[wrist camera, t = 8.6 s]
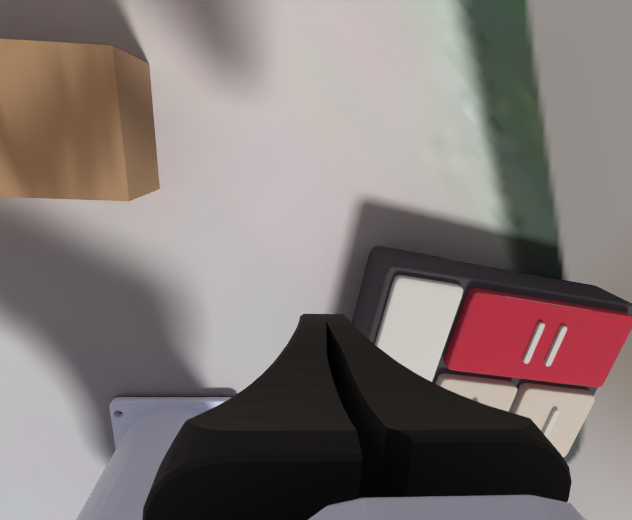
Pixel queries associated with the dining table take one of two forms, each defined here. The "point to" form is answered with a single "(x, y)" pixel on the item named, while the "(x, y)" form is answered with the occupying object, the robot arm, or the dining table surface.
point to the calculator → (495, 334)
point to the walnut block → (75, 122)
